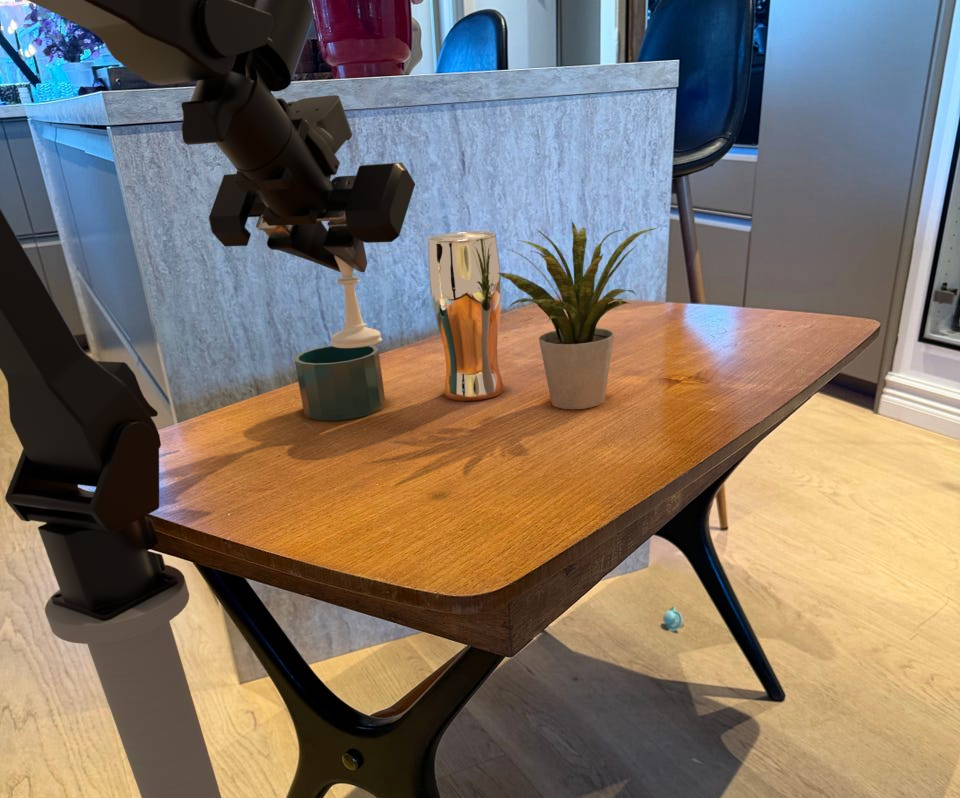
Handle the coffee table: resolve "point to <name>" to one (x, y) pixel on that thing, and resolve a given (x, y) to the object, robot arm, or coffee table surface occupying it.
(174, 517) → the coffee table surface
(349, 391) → the pot
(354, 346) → the chess piece
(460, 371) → the beer glass
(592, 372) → the house plant
